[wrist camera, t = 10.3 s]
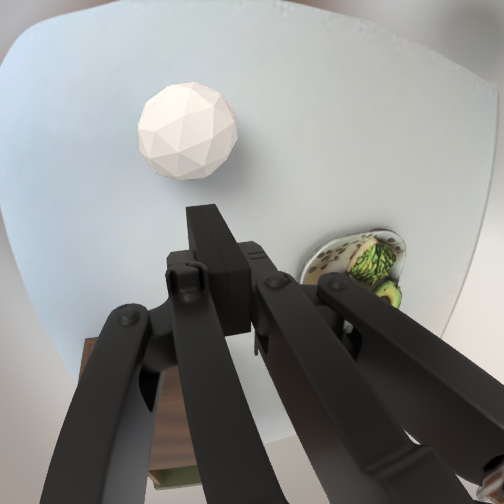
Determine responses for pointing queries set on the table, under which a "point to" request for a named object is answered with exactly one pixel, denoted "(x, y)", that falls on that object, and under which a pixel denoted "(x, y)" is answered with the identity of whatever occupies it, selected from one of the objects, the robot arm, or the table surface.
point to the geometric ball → (186, 131)
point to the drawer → (175, 477)
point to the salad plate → (362, 262)
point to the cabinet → (164, 421)
